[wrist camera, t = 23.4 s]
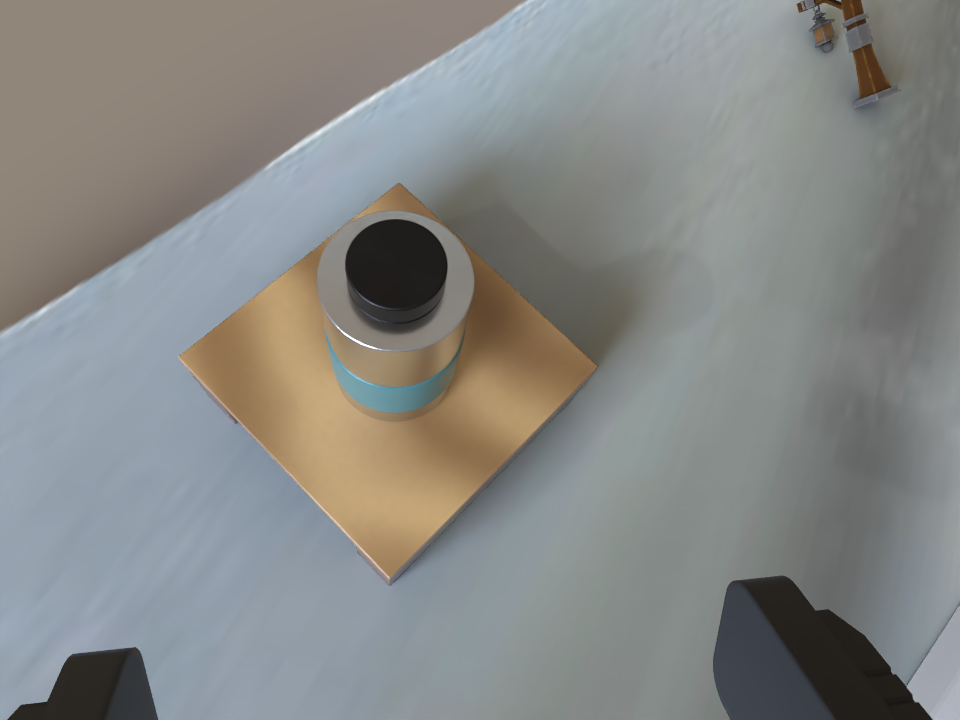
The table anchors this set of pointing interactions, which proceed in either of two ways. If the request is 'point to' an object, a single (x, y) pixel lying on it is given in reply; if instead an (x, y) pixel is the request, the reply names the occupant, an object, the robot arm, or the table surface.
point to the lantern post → (852, 46)
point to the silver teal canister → (395, 311)
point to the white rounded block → (940, 675)
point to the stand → (380, 444)
